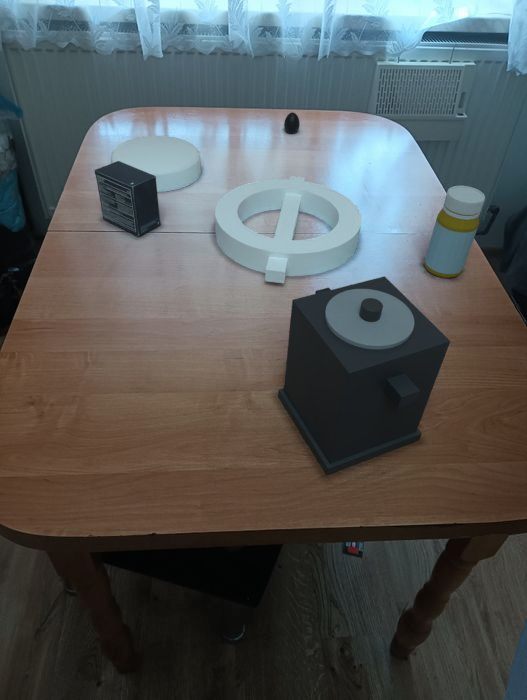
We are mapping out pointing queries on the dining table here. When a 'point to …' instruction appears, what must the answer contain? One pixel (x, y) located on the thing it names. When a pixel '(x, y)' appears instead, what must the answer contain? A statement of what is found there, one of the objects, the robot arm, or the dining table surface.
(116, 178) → the small box
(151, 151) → the white round disc
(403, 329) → the kettle
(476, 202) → the bottle
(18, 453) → the dining table surface
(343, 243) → the white circle with bar
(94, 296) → the dining table surface
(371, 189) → the dining table surface
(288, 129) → the egg
